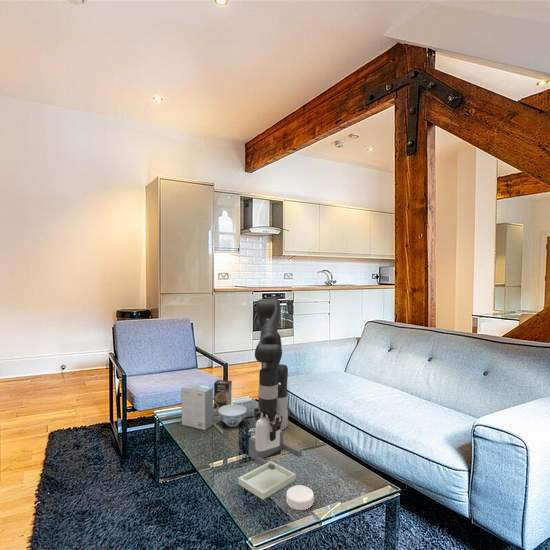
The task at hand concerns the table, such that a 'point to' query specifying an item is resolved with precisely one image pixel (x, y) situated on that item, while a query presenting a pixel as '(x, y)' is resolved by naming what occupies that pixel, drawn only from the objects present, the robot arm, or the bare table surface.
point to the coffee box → (222, 393)
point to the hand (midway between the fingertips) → (267, 437)
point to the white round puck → (300, 497)
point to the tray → (266, 480)
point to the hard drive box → (197, 406)
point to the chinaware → (232, 414)
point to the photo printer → (265, 436)
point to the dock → (269, 451)
